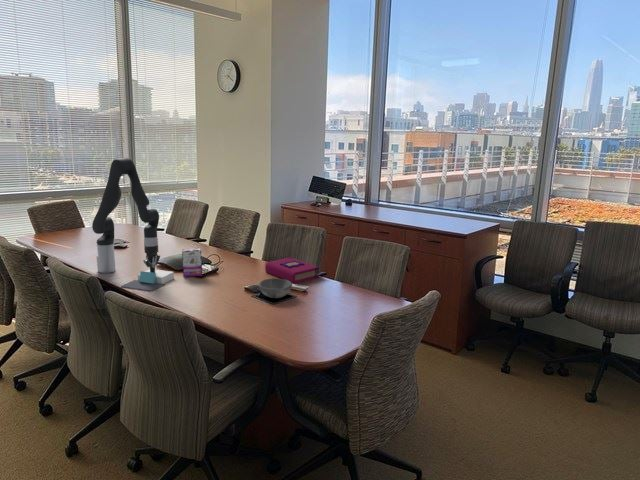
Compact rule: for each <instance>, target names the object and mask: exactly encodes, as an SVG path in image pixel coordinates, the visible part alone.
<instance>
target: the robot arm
mask: <svg viewBox="0 0 640 480" xmlns="http://www.w3.org/2000/svg"><path fill="white" fill-rule="evenodd" d="M124 175H127V176H128V178H129V180H130V187H131V189H130V191H131V192H130V194H131V197H132V199H133V201H134V202H135V205H136V207H137V212H138V216H139V218H140V220H141V222H143V223H144V224H147V225H146V226H145V227H143V236H144V237H143V238H144V239H143V245H144V246H143V247H144V253H145V255H146V256H145V259H144V260H143V263H144V264H145V266H146V267H147V268H149V269H150V272H152V273H155V270H156V266H157V265H158V263H159V261H160V260H161V259H160V258H161V255H159V254H158V253H159V237H158V227H159V222H160V213H159V211H158V210H157V209H155V208H151V209H148V206H149V205H150V200H149V198H148V196H147V194H146V193H145V190H144V188H143V185H142V183H141V180H140V177H139V174H138V171H137V167H136V166H135V163H134V161H133V160H132V158H130V157H119V158H115V159H113V160H112V162H111V165H110V169H109V173H108V178H107V181H106V185H105V189H104V191H103V194H102V196H101V197H102V198H101V201H100V205H99V207H98V209H97V212H96V214H95V216H94V218H93V220H92V226H91V229H92V232H94V233H95V234H98V235H100V234H102V235H101V236H100V237H98V238H97V240H96V249H97V256H96V265H97V272H99V273H102V274H109V273H113V272H116V270H117V269H116V259H115V243H114V242H115V223H114V220H113V219H112V217H109V215H110V214H111V213H112V212H113V211H114V210H115V209H116V208H117V206H119V203H120V200H121V198H122V190H121V187H120V180H121V177H122V176H124Z"/></svg>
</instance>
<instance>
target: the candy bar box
mask: <svg viewBox="0 0 640 480" xmlns="http://www.w3.org/2000/svg"><path fill="white" fill-rule="evenodd" d="M181 252H182V254H181V255H182V256H181V257H182V273H183V274H182V276H183V278H188V277H189V278H191V277H202V276H203V263H202V248H201V247H200V248H185V249H184V248H182V250H181Z"/></svg>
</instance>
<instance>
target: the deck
mask: <svg viewBox="0 0 640 480" xmlns="http://www.w3.org/2000/svg"><path fill="white" fill-rule="evenodd" d="M144 272H150V268H149V269H147V270H145V271H144ZM155 273H156V279H155V283H161V284H166V283H168V282H170V281H172V280H174V279H175V272H174V271H170V270H169V271H168V270H164V269H163V270H161V269H155ZM139 279H140V273H138V274H137V280H139Z"/></svg>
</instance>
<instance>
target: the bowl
mask: <svg viewBox="0 0 640 480" xmlns="http://www.w3.org/2000/svg"><path fill="white" fill-rule="evenodd" d="M292 286H293V283H292V282H290V281H288V280H284V279H282V278H278V277H277V278H267V279H266V278H265V279H263V280H261V281H259V283H258V288H259V290H260V292H261V293H262V295H264V296H265V297H268V298H271V299H281V298H283V297H285V296H286V295H288V294H289V292H290V291H291V289H292Z"/></svg>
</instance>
